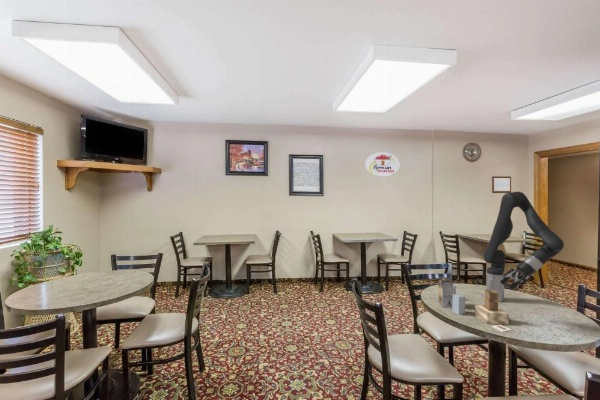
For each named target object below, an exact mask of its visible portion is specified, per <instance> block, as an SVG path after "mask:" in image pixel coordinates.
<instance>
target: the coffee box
mask: <svg viewBox="0 0 600 400" xmlns="http://www.w3.org/2000/svg"><path fill="white" fill-rule="evenodd" d="M453 285H454V281H453V280H452V279H451V278H450V277H441V276H440V277H438V300H437V301H438V304H440V306H441V307H442V308H449V309H451V308H452V305H453Z"/></svg>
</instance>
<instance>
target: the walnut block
mask: <svg viewBox="0 0 600 400" xmlns="http://www.w3.org/2000/svg"><path fill="white" fill-rule="evenodd" d="M484 305H485V308H486V309H488V310H489V311H498V308H499V302H498V292H496V291H495V290H486V289H484Z"/></svg>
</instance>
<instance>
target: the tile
mask: <svg viewBox="0 0 600 400" xmlns="http://www.w3.org/2000/svg"><path fill="white" fill-rule="evenodd" d="M491 328H494V329H496V330H498V331H500V332H502V333H503V332H510V331H511V332H512V331H513V330H512V329H511V328H509V327H507V326H504V325H503V324H493V325H492V326H491Z"/></svg>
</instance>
